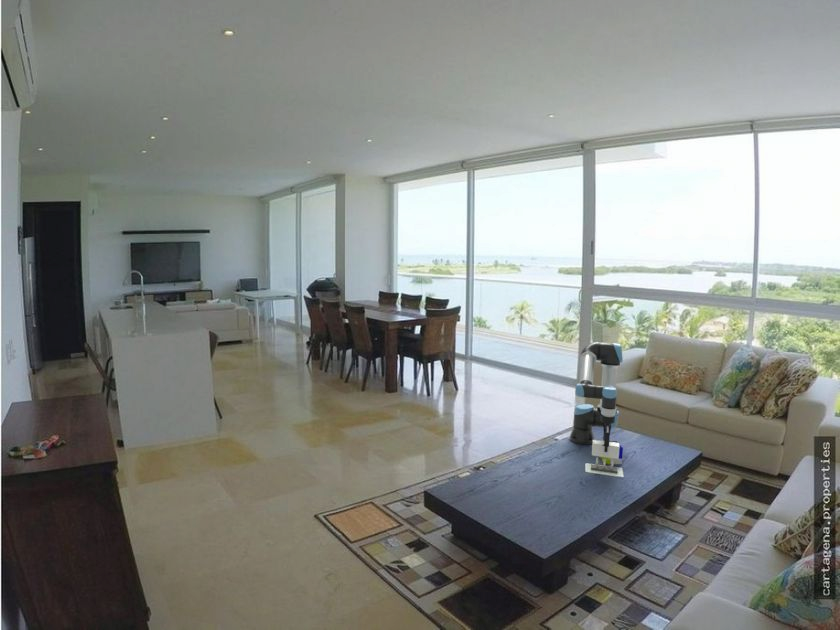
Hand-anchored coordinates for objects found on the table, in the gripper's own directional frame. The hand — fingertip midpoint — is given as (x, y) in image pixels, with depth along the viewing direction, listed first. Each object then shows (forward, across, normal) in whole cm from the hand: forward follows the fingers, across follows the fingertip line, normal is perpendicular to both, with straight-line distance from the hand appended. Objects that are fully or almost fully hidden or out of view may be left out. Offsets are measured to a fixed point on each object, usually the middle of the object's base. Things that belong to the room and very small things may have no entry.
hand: (605, 454), depth 293 cm
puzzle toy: (+10, -16, +4) cm, 19 cm away
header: (+9, 0, 0) cm, 10 cm away
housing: (0, 0, 0) cm, 0 cm away
